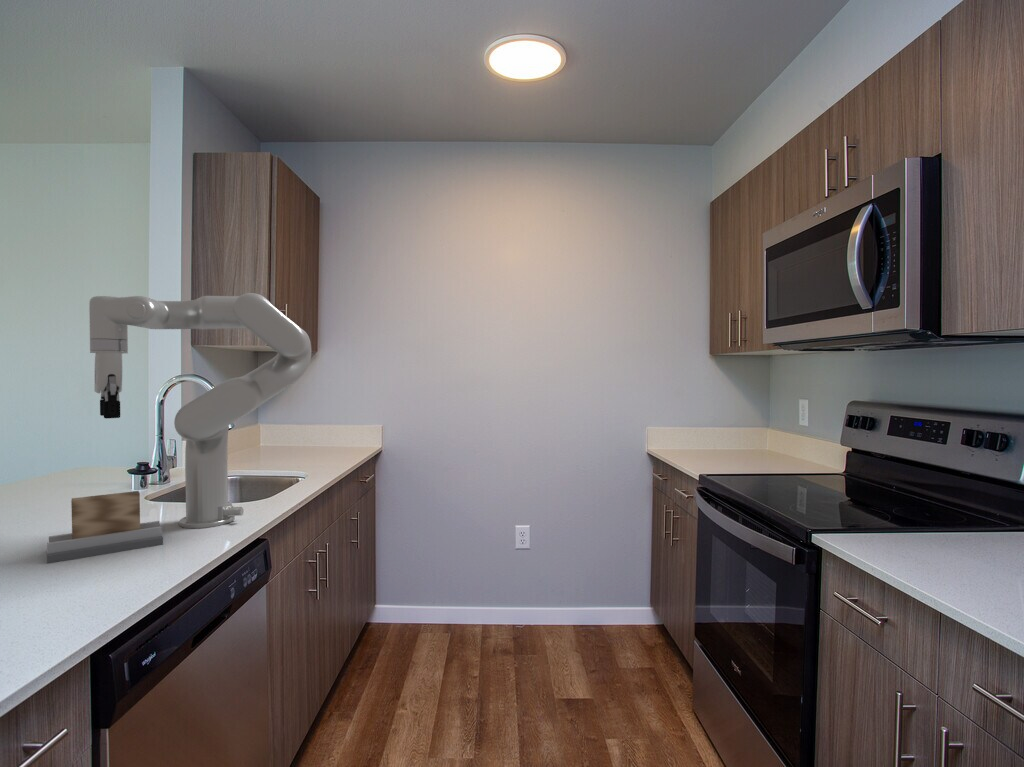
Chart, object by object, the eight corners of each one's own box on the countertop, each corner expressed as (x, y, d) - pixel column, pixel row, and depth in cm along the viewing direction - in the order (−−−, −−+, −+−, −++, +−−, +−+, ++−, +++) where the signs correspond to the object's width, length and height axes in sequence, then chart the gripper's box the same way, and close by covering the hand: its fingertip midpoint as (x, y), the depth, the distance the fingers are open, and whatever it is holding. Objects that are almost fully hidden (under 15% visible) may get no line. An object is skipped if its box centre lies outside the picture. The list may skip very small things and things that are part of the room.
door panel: (139, 534, 127) (138, 490, 127) (140, 537, 125) (139, 493, 124) (72, 544, 120) (71, 498, 119) (72, 547, 117) (71, 501, 117)
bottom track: (158, 533, 132) (158, 519, 132) (163, 544, 124) (162, 528, 124) (49, 550, 120) (49, 534, 120) (47, 563, 112) (46, 546, 112)
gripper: (87, 347, 140) (88, 415, 140) (92, 345, 127) (93, 420, 127) (123, 348, 145) (124, 413, 145) (132, 346, 132) (133, 418, 132)
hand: (110, 416), depth 136 cm, fingers open, 9 cm apart
